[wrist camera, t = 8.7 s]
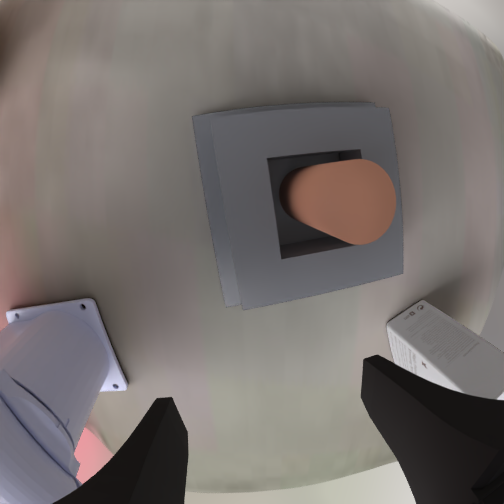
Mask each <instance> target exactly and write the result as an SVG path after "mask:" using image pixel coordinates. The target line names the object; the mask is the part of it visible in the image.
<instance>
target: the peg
mask: <svg viewBox="0 0 504 504" xmlns="http://www.w3.org/2000/svg"><path fill="white" fill-rule="evenodd" d="M279 199H280V203H281V206H282V208H283V209H284V211H285V212H286V213H287V214H288V215H289V216H290V217H291V218H293V219H295V220H297V221H299V222H302V223H304V224H306V225H309V226H311V227H313V228H316V229H318V230H320V231H322V232H325V233H327V234H329V235H331V236H334V237H336V238H338V239H340V240H343V241H345V242H347V243H350V244H354V245H364V244H368V243H371V242H373V241H375V240H377V239H378V238H380V237H381V236H382V235H383V234H384V233H385V232H386V231H387V229H388V228H389V226H390V225H391V223H392V220H393V218H394V215H395V210H396V193H395V189H394V186H393V183H392V181H391V179H390V177H389V176H388V174H387V173H386V172H385V170H384V169H383V168H381V167H380V166H379V165H377V164H376V163H374V162H372V161H369V160H365V159H354V160H346V161H339V162H331V163H325V164H318V165H311V166H305V167H299V168H296V169H294V170H292V171H291V172H289V173H288V174H287V175H286V176H285V177H284V179H283V181H282V183H281V185H280V189H279Z"/></svg>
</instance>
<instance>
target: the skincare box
mask: <svg viewBox="0 0 504 504" xmlns="http://www.w3.org/2000/svg"><path fill="white" fill-rule="evenodd" d="M387 333H388V337H389V343H390V347H391V351H392V355H393V359H394V362H395V364H396V365H398V366H400V367H402V368H404V369H406V370H408V371H410V372H412V373H414V374H416V375H418V376H420V377H422V378H424V379H426V380H428V381H431V382H433V383H436V384H438V385H440V386H443V387H446V388H448V389H451V390H455V391H458V392H461V393H465V394H468V395H473V396H477V397H483V398H489V399H497V400H504V352H502V351H501V350H499V349H498V348H496V347H495V346H494V345H492V344H491V343H489V342H488V341H486V340H484V339H483V338H482V337H480V336H479V335H477V334H476V333H474V332H473V331H471V330H470V329H468V328H467V327H465V326H464V325H462V324H460V323H459V322H457V321H456V320H454V319H453V318H451V317H450V316H448V315H447V314H445V313H444V312H442V311H440V310H439V309H437V308H436V307H434V306H433V305H431V304H429V303H428V302H426V301H424V300H421V301H419V302H418V303H416V304H415V305H413V306H411V307H410V308H408V309H407V310H406V311H404V312H403V313H401V314H399V315H398V316H396V317H395V318H393V319H392V320H390V321H389V322H388V323H387Z"/></svg>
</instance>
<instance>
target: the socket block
mask: <svg viewBox="0 0 504 504" xmlns="http://www.w3.org/2000/svg"><path fill="white" fill-rule="evenodd" d="M192 119H193V126H194V133H195V139H196V146H197V152H198V159H199V165H200V171H201V177H202V183H203V189H204V195H205V201H206V207H207V212H208V218H209V223H210V229H211V234H212V240H213V245H214V250H215V256H216V261H217V266H218V271H219V276H220V281H221V286H222V291H223V296H224V301H225V306H226V307H231V306H236V305H242V308H243V310H247V309H252V308H257V307H262V306H267V305H272V304H277V303H282V302H287V301H292V300H296V299H301V298H306V297H310V296H315V295H319V294H324V293H328V292H332V291H337V290H341V289H345V288H349V287H353V286H357V285H361V284H365V283H369V282H373V281H377V280H381V279H385V278H389V277H393V276H396V275H400V274H403V222H402V204H401V191H400V180H399V171H398V162H397V154H396V147H395V140H394V134H393V128H392V122H391V116H390V111H389V108H383V107H376V106H375V103H371V102H319V103H297V104H282V105H271V106H260V107H251V108H243V109H235V110H228V111H221V112H214V113H208V114H202V115H197V116H192ZM354 159H365V160H369V161H372V162H374V163H376V164H377V165H379V166H380V167H381V168H383V169H384V170H385V172H386V173H387V174H388V176H389V177H390V179H391V181H392V183H393V186H394V189H395V193H396V210H395V215H394V218H393V220H392V223H391V225H390V226H389V228H388V229H387V231H386V232H385V233H384V234H383V235H382V236H381V237H380V238H378V239H377V240H375V241H373V242H371V243H368V244H364V245H354V244H350V243H347V242H345V241H343V240H340V239H338V238H336V237H334V236H331V235H329V234H327V233H325V232H322V231H320V230H318V229H316V228H313V227H311V226H309V225H306V224H304V223H302V222H299V221H297V220H295V219H293V218H291V217H290V216H289V215H288V214H287V213H286V212H285V211H284V209H283V208H282V206H281V203H280V199H279V189H280V185H281V183H282V181H283V179H284V177H285V176H286V175H287V174H288V173H289V172H291V171H292V170H294V169H296V168H299V167H305V166H311V165H318V164H325V163H331V162H339V161H346V160H354Z"/></svg>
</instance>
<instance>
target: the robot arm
mask: <svg viewBox="0 0 504 504" xmlns="http://www.w3.org/2000/svg"><path fill="white" fill-rule="evenodd" d="M82 304H84V305H85V306H86V309H85V308H83V307H82ZM18 314H19V316H18ZM6 316H7V319H8V322H9V324H8V325H7V326H6V327H5V328H4V329H3V330H1V331H0V504H184V497H185V486H186V475H187V465H188V432H187V430H186V427H185V425H184V423H183V421H182V419H181V417H180V414H179V412H178V410H177V407H176V405H175V403H174V401H173V398H172V397H167V398H157V399H156V400H155V401H154V403H153V404H152V405H151V407H150V408H149V410H148V411H147V413H146V414H145V416H144V417H143V419H142V420H141V422H140V423H139V424H138V426H137V427H136V429H135V430H134V431H133V433H132V434H131V435H130V437H129V438H128V439H127V441H126V442H125V443H124V444H123V446H122V447H121V448H120V449H119V450H118V452H117V453H116V454H115V455H114V456H113V457H112V458H111V460H110V461H109V462H108V463H107V464H106V465H105V466H104V467H103V468H102V469H101V470H99V471H98V472H97V473H96V474H95V475H94V476H92V477H91V478H90V479H89V480H88V481H86V482H85V483H84V484H82V483H81V482H80V481H79V480H78V479H77V478H76V475H77V472H78V469H79V466H80V463H79V462H78V461H77V460H76V458H75V456H74V452H75V449H76V447H77V444H78V441H79V439H80V436H81V434H82V432H83V429H84V427H85V424H86V422H87V420H88V417H89V415H90V413H91V410H92V408H93V406H94V404H95V401H96V399H97V397H98V395H99V392H100V391H124V390H126V389H127V387H128V383H127V381H126V379H125V376H124V374H123V372H122V370H121V367H120V365H119V363H118V360H117V358H116V356H115V353H114V351H113V348H112V346H111V343H110V341H109V338H108V336H107V333H106V330H105V328H104V325H103V322H102V320H101V317H100V314H99V311H98V308H97V305H96V303H95V301H94V300H93V299H91V298H85V299H79V300H72V301H66V302H59V303H53V304H46V305H39V306H32V307H26V308H19V309H12V310H9V311H7V313H6ZM115 384H117V385H118V386H116V385H115ZM361 399H362V401H363V403H364V405H365V408H366V410H367V412H368V414H369V416H370V418H371V419H372V421H373V423H374V424H375V426H376V427H377V429H378V430H379V432H380V433H381V435H382V436H383V438H384V439H385V441H386V443H387V444H388V446H389V447H390V449H391V450H392V452H393V453H394V455H395V457H396V458H397V460H398V462H399V464H400V466H401V468H402V470H403V472H404V474H405V477H406V479H407V481H408V483H409V486H410V488H411V491H412V493H413V495H414V498H415V501H416V504H504V400H497V399H489V398H483V397H477V396H473V395H468V394H465V393H461V392H458V391H455V390H451V389H448V388H446V387H443V386H440V385H438V384H436V383H433V382H431V381H428V380H426V379H424V378H422V377H420V376H418V375H416V374H414V373H412V372H410V371H408V370H406V369H404V368H402V367H400V366H398V365H396V364H395V363H393V362H391V361H389V360H387V359H385V358H383V357H381V356H379V355H374V356H371V357H368V358H365V359H363V375H362V388H361Z"/></svg>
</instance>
